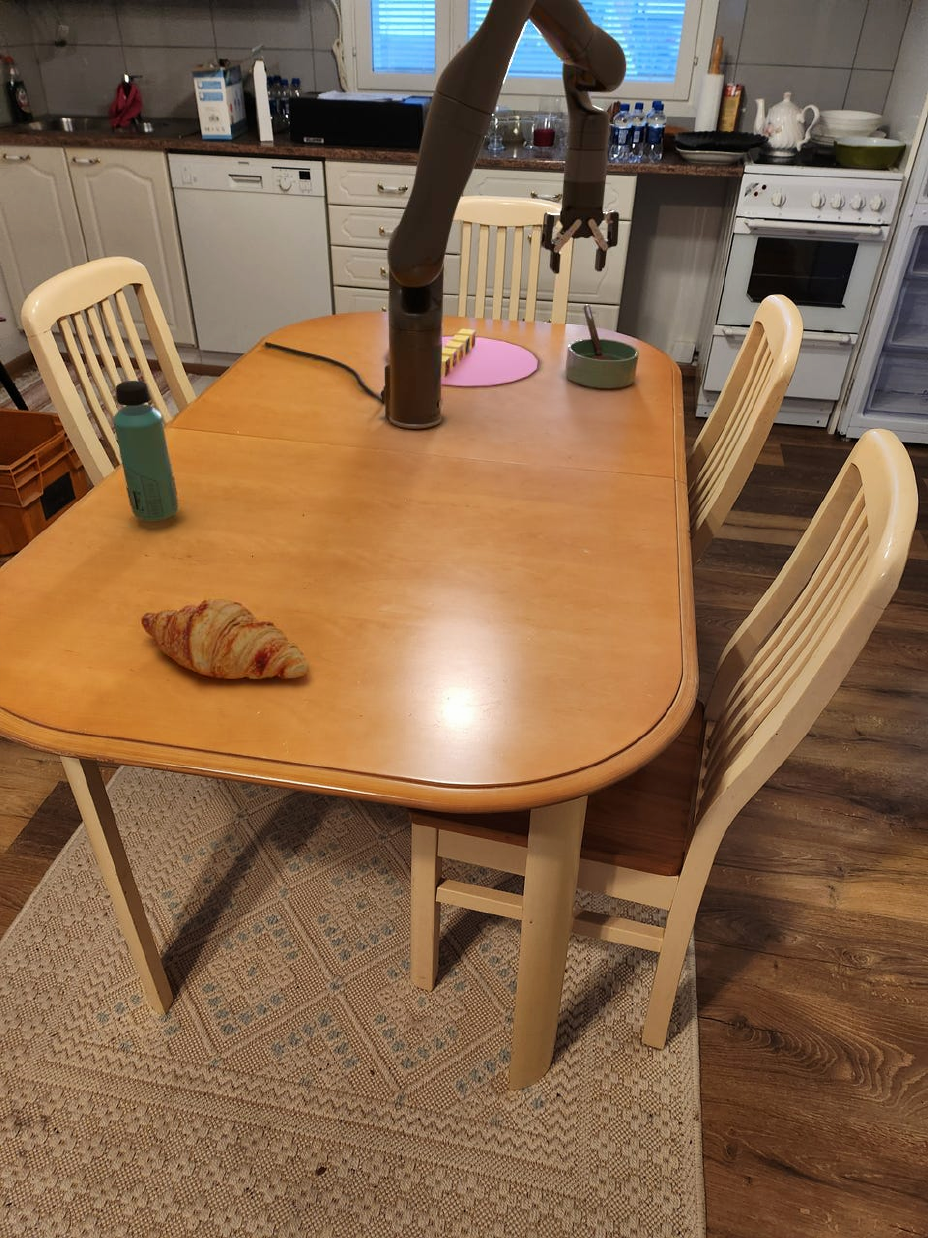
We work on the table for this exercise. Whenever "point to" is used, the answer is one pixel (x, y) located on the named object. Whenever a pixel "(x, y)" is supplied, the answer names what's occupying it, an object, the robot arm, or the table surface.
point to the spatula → (594, 335)
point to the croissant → (225, 641)
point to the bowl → (602, 364)
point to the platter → (483, 361)
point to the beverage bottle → (144, 454)
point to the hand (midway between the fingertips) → (576, 271)
